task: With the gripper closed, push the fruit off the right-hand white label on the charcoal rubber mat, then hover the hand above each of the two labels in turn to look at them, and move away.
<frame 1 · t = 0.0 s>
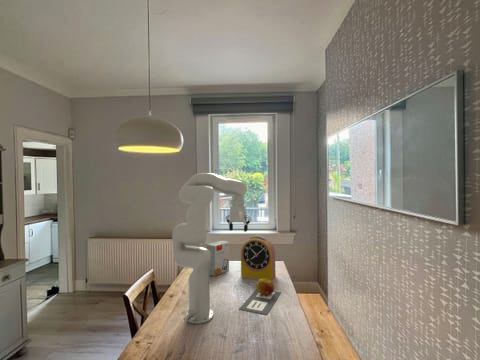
hand: (238, 230, 160), 31 cm above the table, tool pointing down, fingers open, 9 cm apart
alarm clock: (258, 276, 168), on the table
hard drive box: (218, 272, 177), on the table
label mat: (261, 300, 134), on the table
fruit: (265, 294, 140), resting on label mat
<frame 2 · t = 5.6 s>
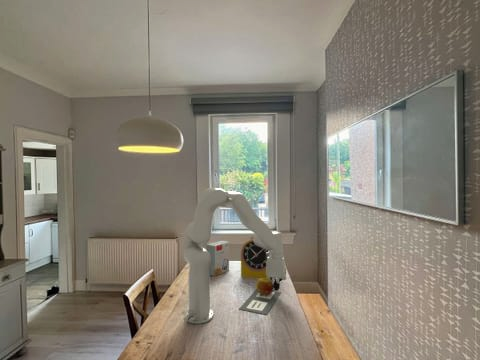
hand: (276, 289, 138), 4 cm above the table, tool pointing down, fingers closed
fruit: (265, 294, 140), resting on label mat, touching gripper
everything else where it was.
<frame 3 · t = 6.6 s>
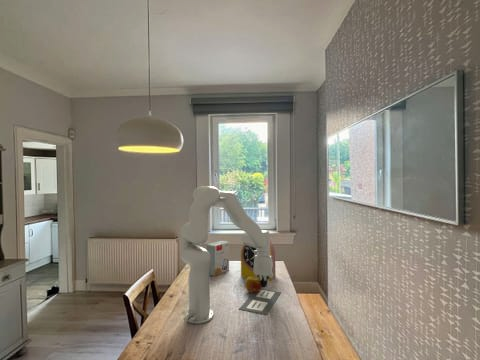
hand: (264, 286, 141), 4 cm above the table, tool pointing down, fingers closed
fruit: (254, 292, 144), on the table, touching gripper
everything else where it was.
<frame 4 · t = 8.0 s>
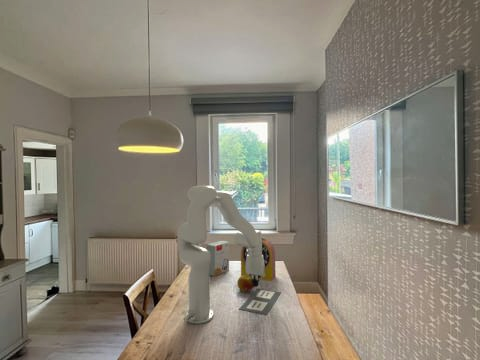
hand: (255, 286, 143), 4 cm above the table, tool pointing down, fingers closed
fruit: (246, 290, 146), on the table, touching gripper
everything else where it was.
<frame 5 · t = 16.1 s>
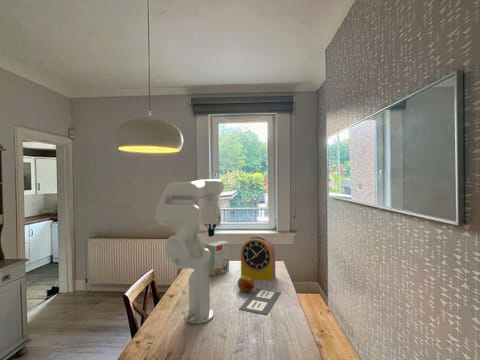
hand: (211, 236, 141), 32 cm above the table, tool pointing down, fingers closed
fruit: (246, 291, 146), on the table
everything else where it was.
at the end: fruit inside the target area (7.6 cm from its centre), on the table; fruit moved 11.9 cm from its start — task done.
